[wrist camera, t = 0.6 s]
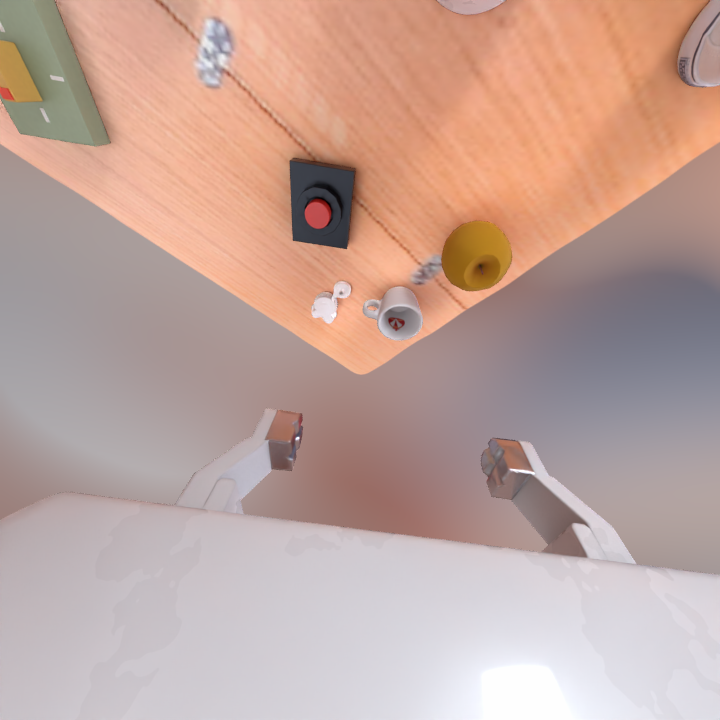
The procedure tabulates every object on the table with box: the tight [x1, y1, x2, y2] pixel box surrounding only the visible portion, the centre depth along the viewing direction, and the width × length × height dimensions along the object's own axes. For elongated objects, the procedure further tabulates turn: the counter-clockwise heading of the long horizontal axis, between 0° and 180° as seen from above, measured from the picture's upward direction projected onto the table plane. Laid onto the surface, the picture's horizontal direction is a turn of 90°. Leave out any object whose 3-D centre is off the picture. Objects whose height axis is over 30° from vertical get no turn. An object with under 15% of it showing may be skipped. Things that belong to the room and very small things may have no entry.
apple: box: [441, 221, 512, 291], centre depth 42 cm, size 10×10×12 cm
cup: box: [363, 286, 423, 340], centre depth 52 cm, size 11×8×8 cm
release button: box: [305, 199, 331, 229], centre depth 41 cm, size 4×4×2 cm
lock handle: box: [0, 40, 43, 103], centre depth 32 cm, size 5×1×4 cm, turn 173°
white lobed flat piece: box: [311, 281, 351, 323], centre depth 56 cm, size 9×9×2 cm
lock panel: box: [0, 0, 110, 146], centre depth 35 cm, size 13×10×3 cm
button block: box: [290, 158, 356, 249], centre depth 43 cm, size 11×9×4 cm
